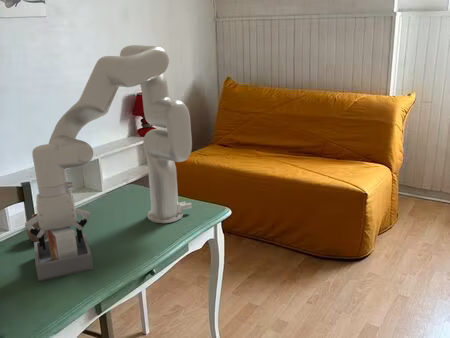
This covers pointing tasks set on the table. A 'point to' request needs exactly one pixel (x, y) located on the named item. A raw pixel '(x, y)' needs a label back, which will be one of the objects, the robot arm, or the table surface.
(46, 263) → the bin
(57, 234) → the small box
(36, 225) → the vase
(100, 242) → the table surface
